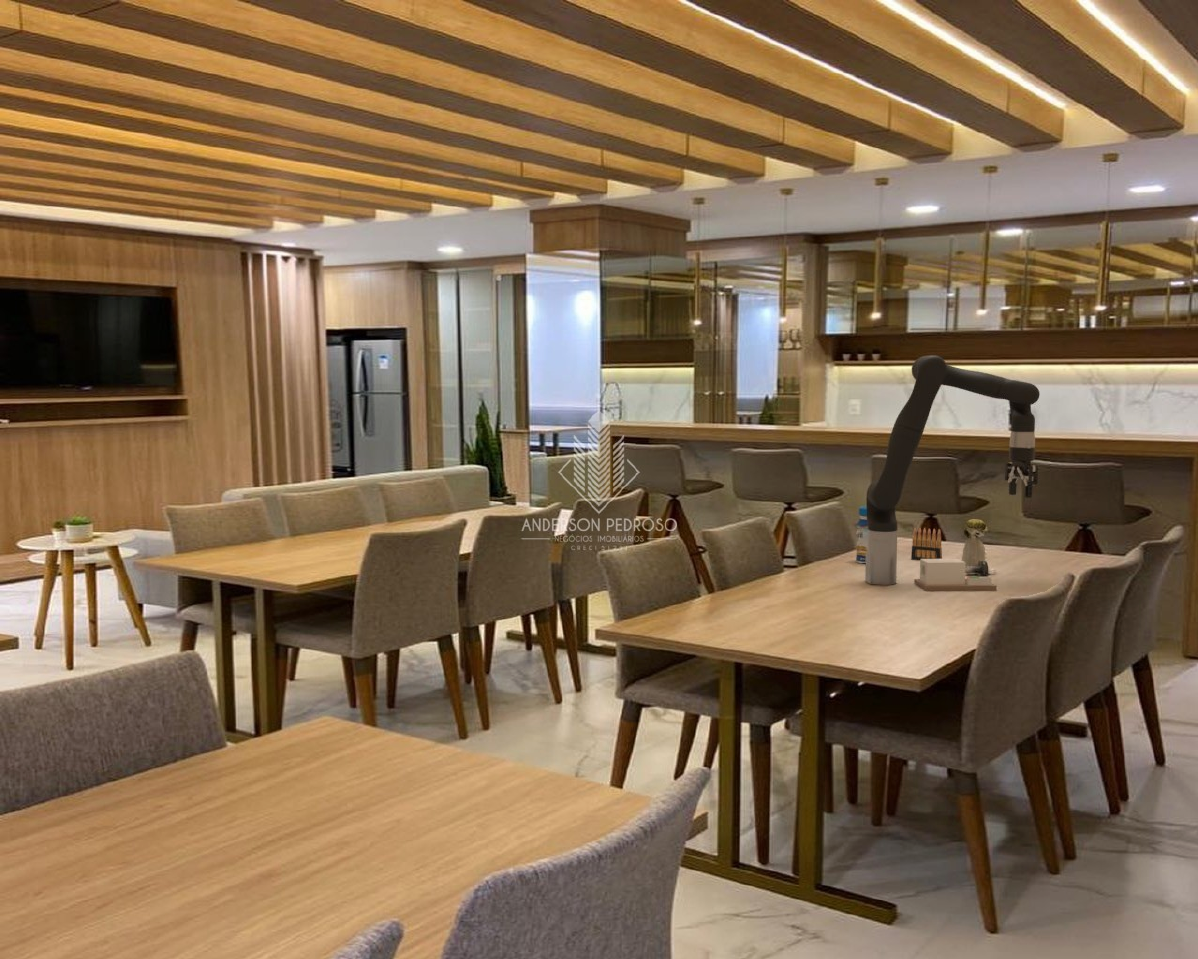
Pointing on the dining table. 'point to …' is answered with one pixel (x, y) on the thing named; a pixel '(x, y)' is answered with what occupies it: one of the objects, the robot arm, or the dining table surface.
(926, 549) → the ammunition clip
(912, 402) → the robot arm
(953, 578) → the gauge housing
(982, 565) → the plunger
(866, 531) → the beverage bottle
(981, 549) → the figurine
